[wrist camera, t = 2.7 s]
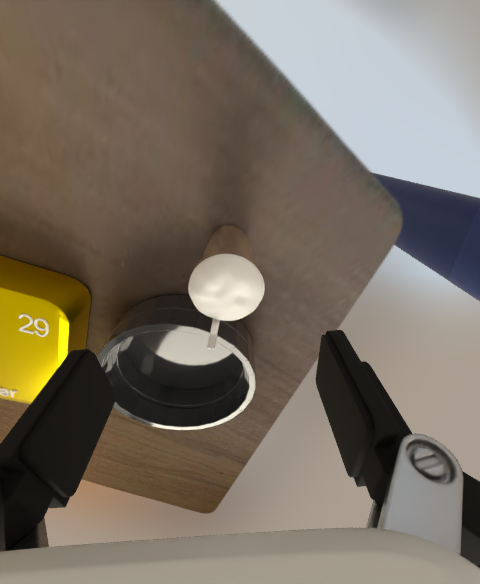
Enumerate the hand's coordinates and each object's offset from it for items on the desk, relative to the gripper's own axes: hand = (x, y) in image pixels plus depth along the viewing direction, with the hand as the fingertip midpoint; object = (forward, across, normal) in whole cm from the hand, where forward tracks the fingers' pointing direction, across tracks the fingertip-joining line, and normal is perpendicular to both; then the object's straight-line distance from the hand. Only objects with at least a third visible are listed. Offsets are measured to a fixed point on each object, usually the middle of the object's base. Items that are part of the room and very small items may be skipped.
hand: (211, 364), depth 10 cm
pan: (+14, +6, +12) cm, 19 cm away
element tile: (+14, +22, +6) cm, 27 cm away
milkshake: (+14, 0, 0) cm, 14 cm away
